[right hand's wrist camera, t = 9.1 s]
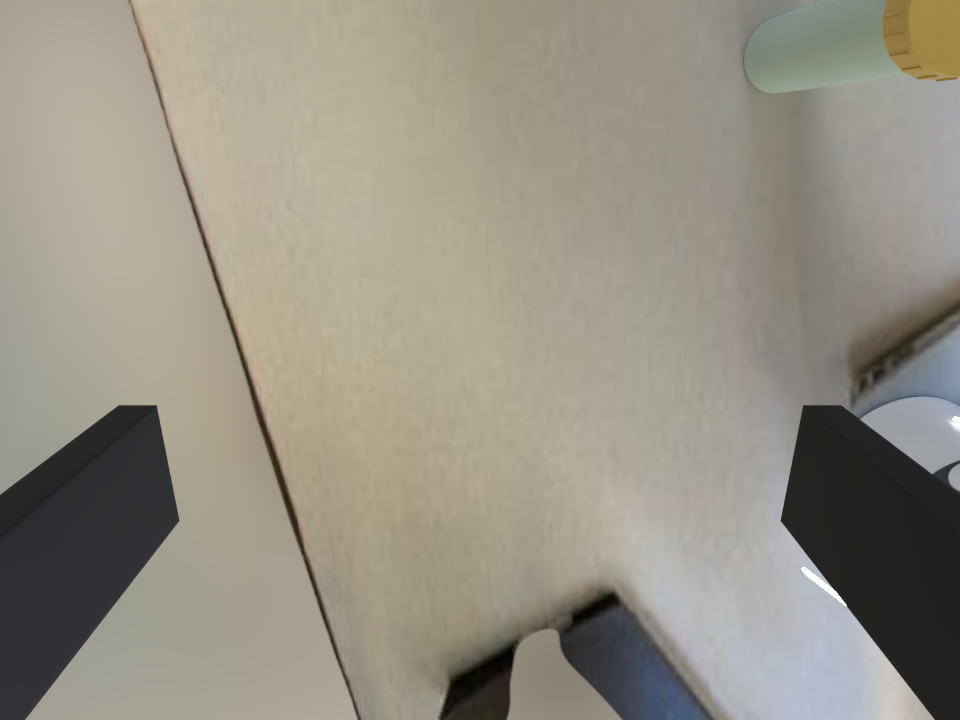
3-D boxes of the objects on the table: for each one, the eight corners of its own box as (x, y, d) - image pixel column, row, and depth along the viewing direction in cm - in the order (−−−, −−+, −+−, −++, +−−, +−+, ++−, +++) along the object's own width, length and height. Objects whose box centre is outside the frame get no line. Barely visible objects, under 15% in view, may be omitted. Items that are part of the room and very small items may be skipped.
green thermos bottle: (799, -1, 46) (1012, -89, 27) (825, 68, 47) (1042, 27, 29) (732, 42, 47) (894, -17, 28) (759, 107, 48) (930, 92, 30)
